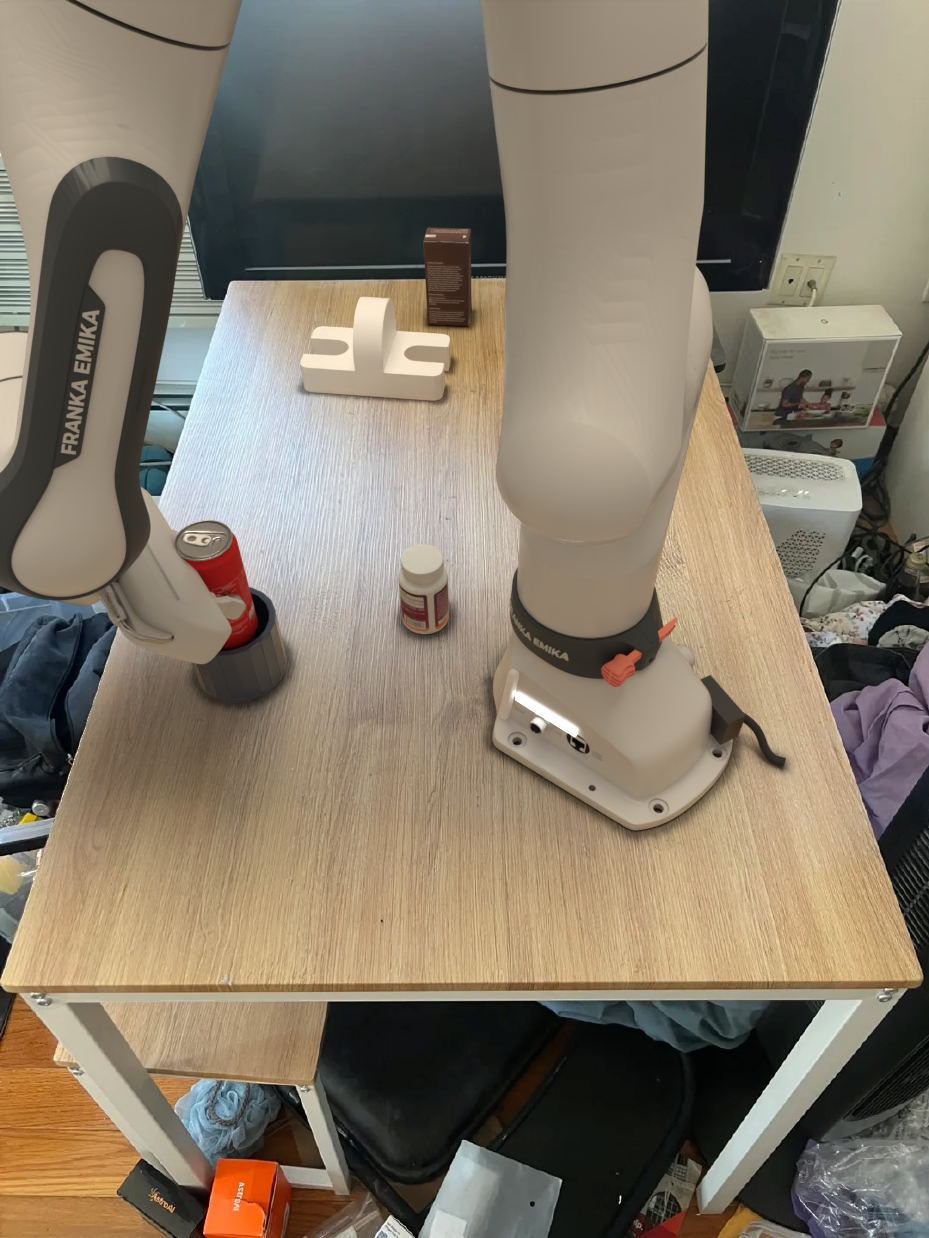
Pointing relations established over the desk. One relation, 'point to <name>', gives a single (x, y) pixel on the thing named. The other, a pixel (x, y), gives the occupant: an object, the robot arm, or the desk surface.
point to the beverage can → (220, 571)
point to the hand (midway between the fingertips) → (224, 583)
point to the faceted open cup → (248, 661)
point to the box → (448, 276)
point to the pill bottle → (423, 589)
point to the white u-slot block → (376, 357)
